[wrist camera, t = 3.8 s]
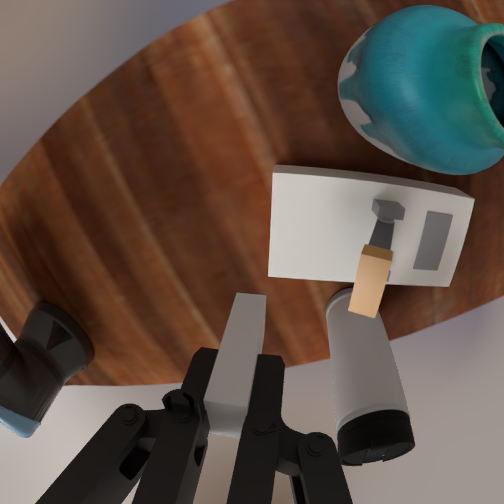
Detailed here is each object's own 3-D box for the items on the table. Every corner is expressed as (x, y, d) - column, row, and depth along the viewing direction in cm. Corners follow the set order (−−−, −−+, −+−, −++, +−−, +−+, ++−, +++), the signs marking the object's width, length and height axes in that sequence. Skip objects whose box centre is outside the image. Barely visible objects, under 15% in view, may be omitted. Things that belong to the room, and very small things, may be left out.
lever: (367, 257, 26) (347, 310, 19) (376, 213, 24) (360, 253, 17) (387, 262, 25) (374, 318, 18) (397, 218, 23) (391, 261, 16)
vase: (310, 116, 24) (357, 120, 8) (352, 26, 20) (436, -75, 3) (404, 167, 25) (533, 256, 8) (442, 82, 20) (589, 84, 3)
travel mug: (375, 280, 31) (427, 435, 14) (374, 323, 34) (407, 466, 16) (323, 287, 33) (338, 452, 15) (326, 329, 35) (336, 479, 18)
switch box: (270, 257, 32) (266, 288, 26) (275, 164, 27) (271, 177, 22) (435, 268, 30) (456, 297, 24) (456, 187, 25) (485, 205, 20)
